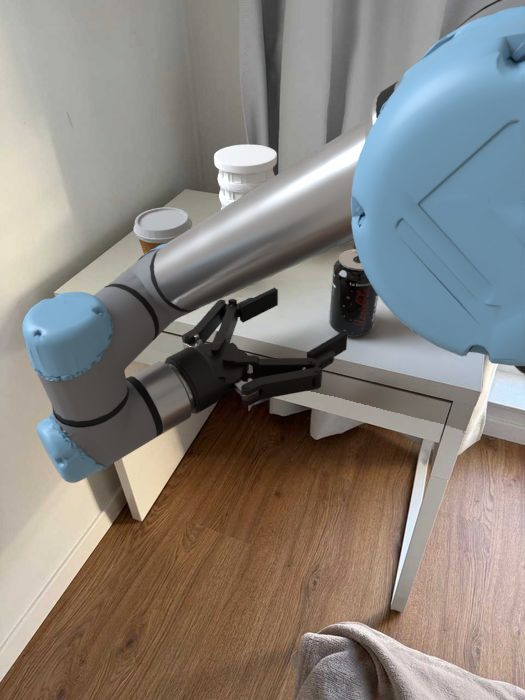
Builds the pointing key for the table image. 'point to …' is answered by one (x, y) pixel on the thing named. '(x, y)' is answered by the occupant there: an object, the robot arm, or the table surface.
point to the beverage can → (351, 296)
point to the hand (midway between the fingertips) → (308, 316)
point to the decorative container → (243, 170)
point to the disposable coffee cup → (160, 226)
